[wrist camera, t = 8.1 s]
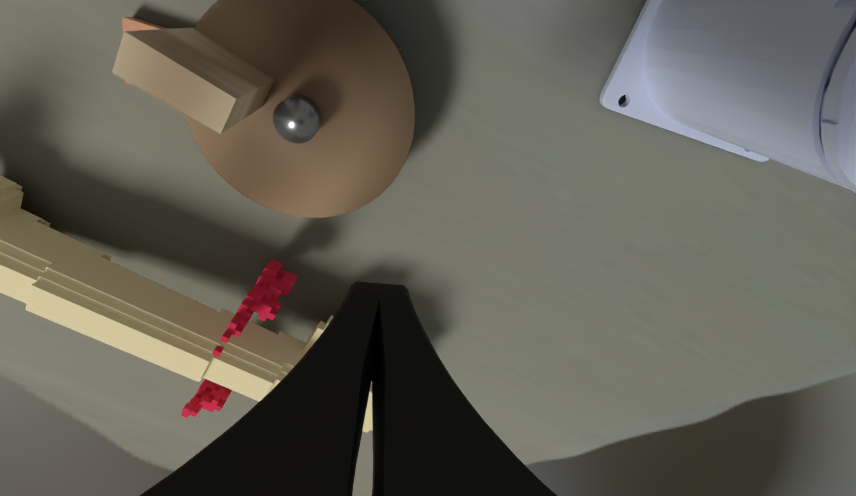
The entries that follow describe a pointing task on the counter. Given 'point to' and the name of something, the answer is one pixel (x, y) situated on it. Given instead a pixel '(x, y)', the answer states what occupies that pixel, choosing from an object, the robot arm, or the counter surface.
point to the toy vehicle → (149, 311)
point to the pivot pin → (297, 119)
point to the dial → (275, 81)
